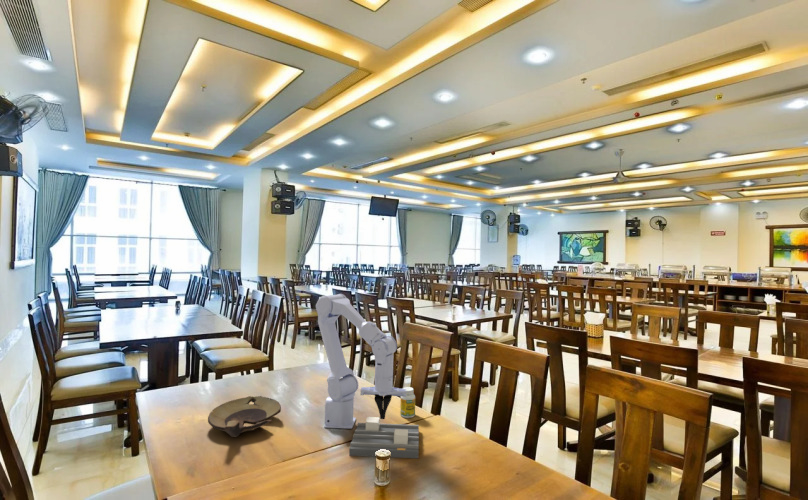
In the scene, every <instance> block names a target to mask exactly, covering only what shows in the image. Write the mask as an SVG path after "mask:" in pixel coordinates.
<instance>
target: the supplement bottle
mask: <svg viewBox="0 0 808 500" xmlns="http://www.w3.org/2000/svg"><path fill="white" fill-rule="evenodd" d="M402 389H406V397H402V396H400V409H399V410H400V416H401V417H402V418H404V419H410V418H414V417H415V416H416V395H415V393H414V390H415V389H414V388H413V387H410V386H404V387H402Z"/></svg>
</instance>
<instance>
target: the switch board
mask: <svg viewBox="0 0 808 500" xmlns="http://www.w3.org/2000/svg"><path fill="white" fill-rule="evenodd" d="M356 426H357V427H356V429H354V433H353V435H352V440H351V442H350V446H349V448H348V449H349V453H348V455H349V456H352V457H355V456H357V457H373V458H375V452H376V451H378V450H380V449H386V450H389V451H390V452H391V457H390V458H401V459H419V452H420V451H419V446H420V445H419V440H420V437H419V434H420V432H419V430H420V429H419V428H420V425H419V424H401V423H399V424H398V423H380V425H379V431H372V430H366V422H357V425H356ZM395 429H404V430H408V444H394V432H395Z"/></svg>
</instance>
